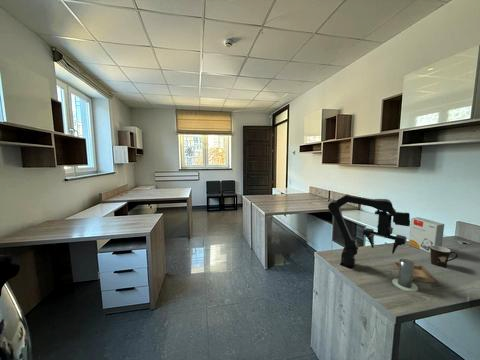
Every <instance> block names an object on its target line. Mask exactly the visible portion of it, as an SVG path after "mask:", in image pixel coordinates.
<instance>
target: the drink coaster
mask: <svg viewBox="0 0 480 360" xmlns="http://www.w3.org/2000/svg"><path fill="white" fill-rule="evenodd" d="M391 282H392V284H393V285H394V286H395V287H396V288H397V289H399V290H402V291H404V292H417V291H418V290H419V287H418V285H416V284H415V283H414V282H412V287H411V288H406V287H403V286H401V285H399V284H398V277H397V278H393V279H392V281H391Z"/></svg>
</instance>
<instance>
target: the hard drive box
mask: <svg viewBox="0 0 480 360" xmlns="http://www.w3.org/2000/svg"><path fill="white" fill-rule="evenodd" d="M409 227H410V230H409V240H408V245H409V246H411V247H413V248H416V249H419V250H421V251H424V252H426V253H429V254H430V246H432V245H435V246H441V247H443V240H444V239H443V238H444V230H445V224H444V223H441V222H438V221H434V220H431V219H427V218H422V217H418V216H416V217H410V226H409Z"/></svg>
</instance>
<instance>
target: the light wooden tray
mask: <svg viewBox="0 0 480 360" xmlns="http://www.w3.org/2000/svg"><path fill="white" fill-rule="evenodd" d="M392 265H393V267H394V268H395V270H396V271H397V273H398V272H399V261H398V262H396V261H393V264H392ZM413 281H418V282H425V283H431V284H436V283H437V280H436V278H435V277H434V276H433V275H432V274H431V273H430V272H429V271H428V269H426V267H424V266H423V265H420V264H419V265H418V264H414V271H413Z"/></svg>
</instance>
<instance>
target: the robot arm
mask: <svg viewBox="0 0 480 360" xmlns="http://www.w3.org/2000/svg"><path fill="white" fill-rule="evenodd" d="M347 203H350V204H355V205H361V206H365V207H371V208H373V209H376V211H374V215H377V216H378V217H377V219H378V220H377V226H376V227H377V229H376V230H377V231H374V229H373V228H369V227H366V228H364V230H362V235H363V236H365V238H367V240H368V242H369V243H370V246H371V248H372V249H374V248H375V240H374V239H375V236H377V237H381V238H385V239H389V240H393V241H394V242H393V245H392V251H391V252H392V255H394V253H395V252H396V250H397V247H399V246H402V245H403V246H404V245H406V243H407V241H408V240H407V237H406V236H405V235H401V234H396V235H392V234H393V232H394V231H393V230H394V227H392V223H394V224H395V226H400V227H401V226H403V227H411V217H410V213H409V212H403V211H402V212H399V211H396V209H395V208H394V206H393V202H392V201H391V200H390V199H387V198H367V197H361V196H357V195H351V194H344V195H343V196H342V197H340V198H338V199H336V200H331V202H330V203H328V206H327V209H328V211H329V212H330V213H331V215H332V216H333V217H334V219H335V221H336V224H337V226H338V229H339V231H340V233H341V235H342V238H343V241H344V247H343V249H342V251H341V257H340V259H341V260H340V263H339V265H341V266H343V267H346V268H348V269H353V267H355V266H356V258H355V256H356V255H357V254H358V250H359V247H360V244H358V242H357V241H358V240H357V239H356V238H355V239H354V238H353V237H352V236H351V233H350V230H349V228H348V225H347V223H346V221H345V219H344V216H343V213H342V206H344V205H346V204H347Z"/></svg>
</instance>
